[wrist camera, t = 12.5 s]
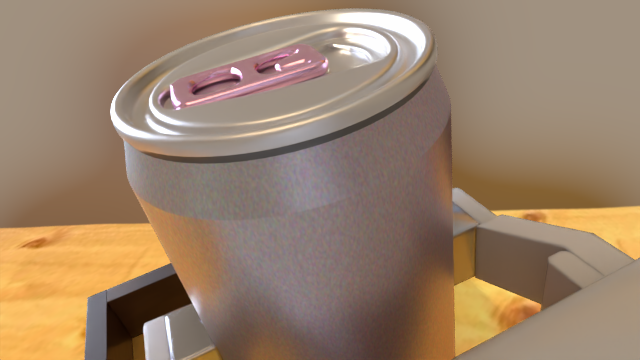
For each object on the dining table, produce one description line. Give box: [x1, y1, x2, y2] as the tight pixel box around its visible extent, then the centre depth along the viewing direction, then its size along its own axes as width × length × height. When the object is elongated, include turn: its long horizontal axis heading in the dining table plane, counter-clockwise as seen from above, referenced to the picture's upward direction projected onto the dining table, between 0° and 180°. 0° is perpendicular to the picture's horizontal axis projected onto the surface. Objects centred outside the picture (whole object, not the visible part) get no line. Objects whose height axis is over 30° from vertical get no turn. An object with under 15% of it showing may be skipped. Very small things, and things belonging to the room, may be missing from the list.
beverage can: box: [111, 9, 455, 360], centre depth 12 cm, size 6×6×15 cm
